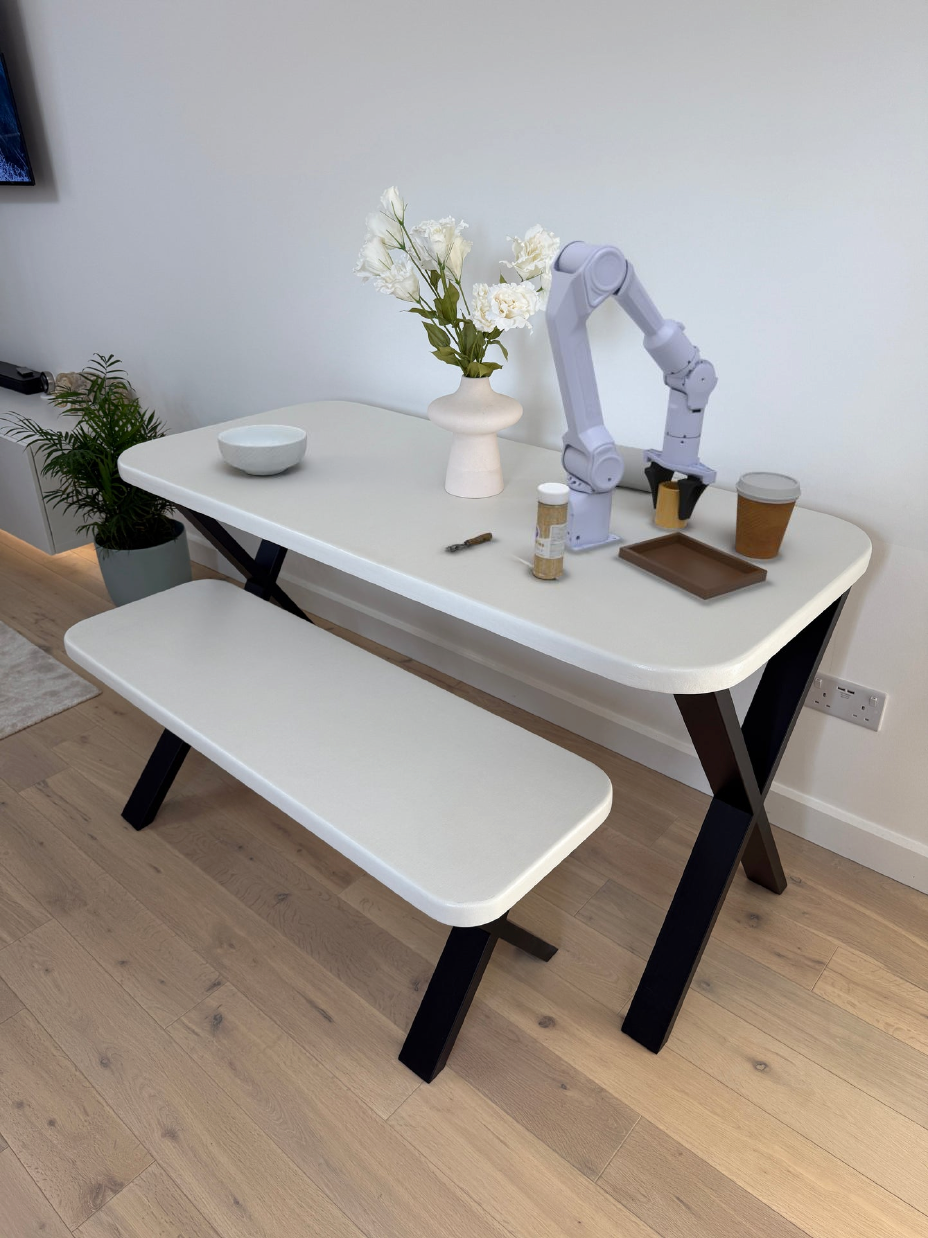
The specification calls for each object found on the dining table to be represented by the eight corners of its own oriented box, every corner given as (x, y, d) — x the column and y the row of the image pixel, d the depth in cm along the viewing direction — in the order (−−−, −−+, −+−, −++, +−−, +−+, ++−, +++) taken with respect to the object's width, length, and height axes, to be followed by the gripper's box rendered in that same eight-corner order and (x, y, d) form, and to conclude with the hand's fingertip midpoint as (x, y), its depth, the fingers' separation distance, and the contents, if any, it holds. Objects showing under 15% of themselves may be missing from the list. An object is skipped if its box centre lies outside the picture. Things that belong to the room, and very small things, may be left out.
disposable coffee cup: (755, 570, 127) (770, 494, 122) (711, 548, 135) (723, 475, 129) (801, 559, 131) (817, 485, 126) (756, 538, 139) (769, 467, 133)
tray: (704, 603, 117) (706, 590, 116) (618, 559, 130) (619, 547, 129) (765, 583, 124) (767, 570, 123) (676, 543, 137) (678, 531, 136)
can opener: (488, 537, 137) (488, 531, 136) (497, 542, 135) (497, 535, 135) (441, 549, 132) (441, 542, 132) (450, 554, 131) (450, 547, 130)
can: (666, 444, 156) (606, 433, 161) (651, 471, 153) (590, 460, 158) (668, 474, 162) (610, 463, 167) (654, 501, 158) (594, 489, 164)
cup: (670, 533, 140) (675, 492, 137) (648, 523, 144) (652, 483, 141) (692, 527, 143) (698, 487, 140) (670, 518, 147) (675, 478, 144)
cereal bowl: (326, 470, 167) (324, 434, 164) (254, 489, 156) (250, 451, 153) (275, 451, 178) (272, 418, 174) (204, 468, 167) (200, 432, 163)
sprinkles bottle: (527, 570, 126) (532, 483, 120) (554, 566, 128) (560, 479, 122) (541, 582, 122) (547, 493, 116) (569, 578, 124) (576, 489, 118)
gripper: (735, 440, 133) (721, 522, 139) (667, 420, 144) (658, 496, 150) (703, 447, 129) (691, 530, 136) (637, 425, 140) (628, 503, 146)
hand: (671, 513), depth 143 cm, fingers closed on cup, 5 cm apart
